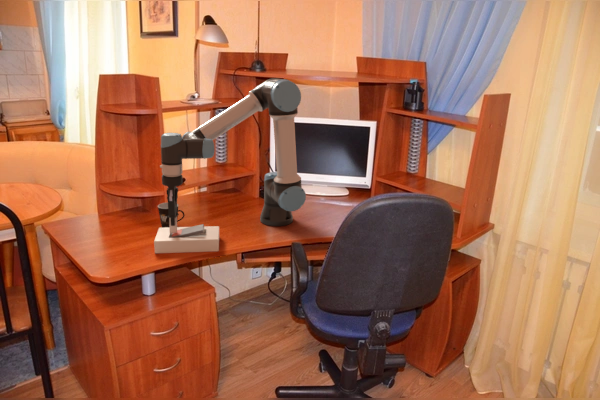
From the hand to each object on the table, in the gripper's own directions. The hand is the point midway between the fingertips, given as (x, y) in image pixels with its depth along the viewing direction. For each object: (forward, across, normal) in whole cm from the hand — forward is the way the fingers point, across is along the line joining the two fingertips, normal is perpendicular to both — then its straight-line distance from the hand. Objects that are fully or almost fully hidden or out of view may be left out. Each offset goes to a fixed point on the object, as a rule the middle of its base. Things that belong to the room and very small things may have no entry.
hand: (173, 232), depth 174 cm
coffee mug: (+6, -19, -3) cm, 20 cm away
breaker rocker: (+1, 0, +6) cm, 6 cm away
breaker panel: (+6, 0, +6) cm, 8 cm away
